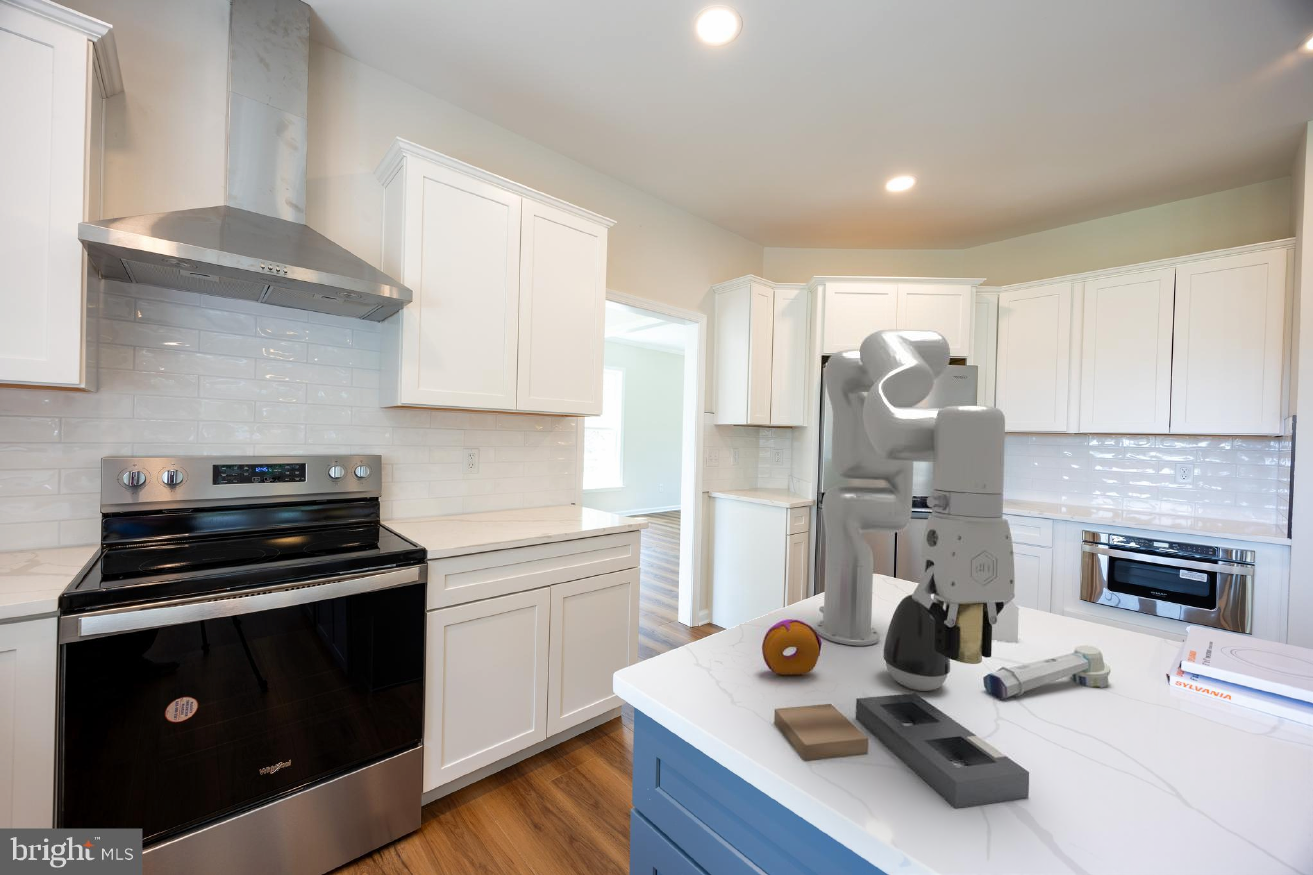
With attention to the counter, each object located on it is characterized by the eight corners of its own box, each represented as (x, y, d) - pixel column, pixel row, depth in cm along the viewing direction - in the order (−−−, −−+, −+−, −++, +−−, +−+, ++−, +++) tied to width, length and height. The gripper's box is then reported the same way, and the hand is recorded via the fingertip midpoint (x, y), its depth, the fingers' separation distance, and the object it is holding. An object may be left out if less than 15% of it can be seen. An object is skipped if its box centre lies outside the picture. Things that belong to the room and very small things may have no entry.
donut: (771, 661, 96) (772, 607, 96) (823, 673, 92) (824, 617, 92) (758, 678, 90) (759, 620, 90) (813, 692, 85) (815, 630, 85)
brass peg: (936, 651, 66) (938, 595, 66) (963, 649, 67) (965, 594, 67) (961, 664, 62) (963, 605, 62) (989, 662, 63) (991, 604, 63)
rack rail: (855, 718, 77) (856, 697, 77) (914, 712, 79) (915, 691, 79) (955, 808, 59) (956, 780, 59) (1028, 797, 61) (1029, 770, 61)
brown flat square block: (774, 722, 76) (774, 708, 76) (830, 717, 78) (831, 703, 78) (805, 760, 67) (805, 744, 67) (867, 753, 69) (868, 738, 69)
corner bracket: (941, 620, 122) (943, 569, 122) (995, 625, 120) (996, 573, 120) (958, 637, 112) (960, 581, 112) (1017, 643, 109) (1019, 585, 109)
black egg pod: (946, 677, 92) (949, 591, 92) (952, 704, 82) (955, 608, 82) (883, 665, 96) (886, 582, 96) (881, 689, 87) (884, 598, 87)
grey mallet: (978, 667, 88) (1083, 634, 95) (981, 705, 88) (1086, 670, 96) (1007, 681, 83) (1116, 645, 90) (1010, 722, 83) (1119, 683, 91)
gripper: (930, 510, 59) (925, 672, 59) (1050, 510, 63) (1046, 662, 63) (887, 502, 67) (883, 646, 66) (997, 502, 70) (993, 639, 70)
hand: (962, 652), depth 65 cm, fingers closed on brass peg, 4 cm apart
